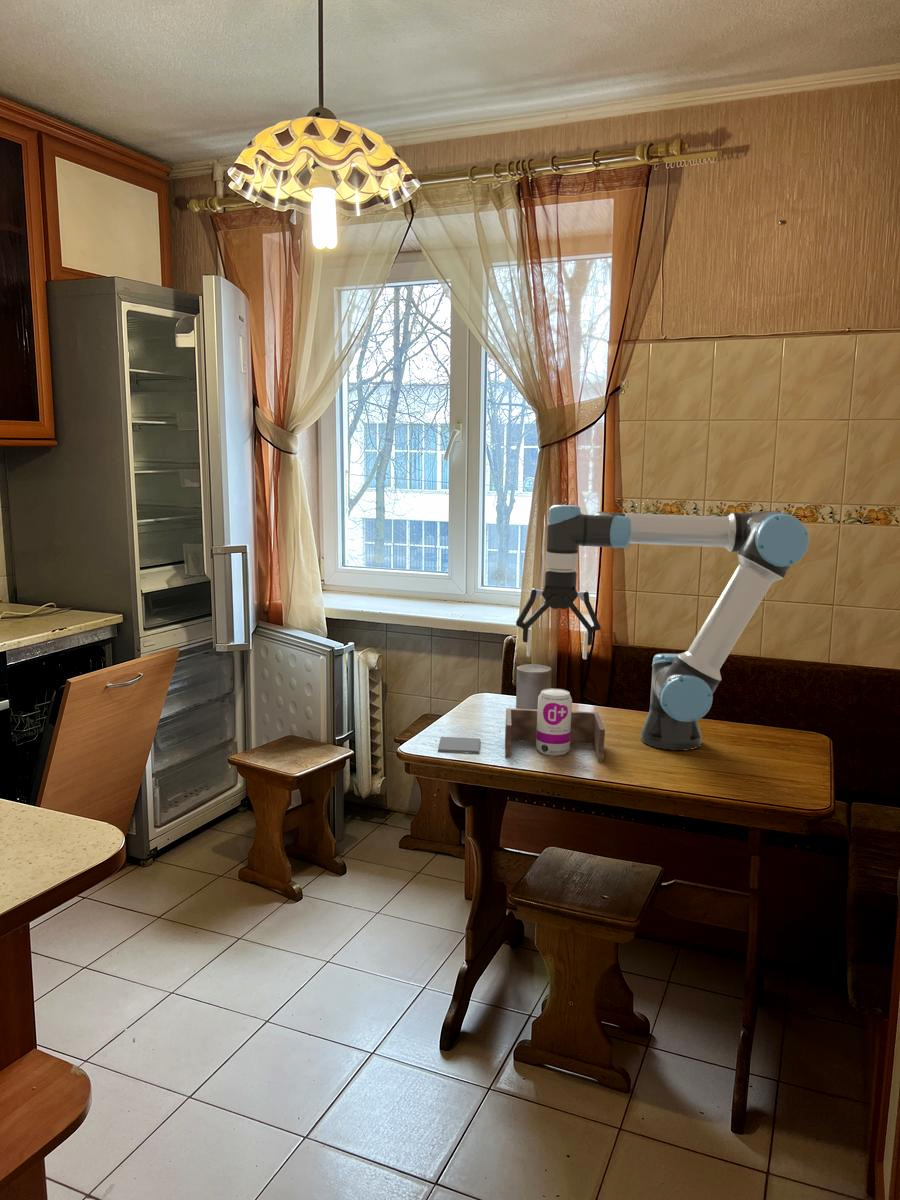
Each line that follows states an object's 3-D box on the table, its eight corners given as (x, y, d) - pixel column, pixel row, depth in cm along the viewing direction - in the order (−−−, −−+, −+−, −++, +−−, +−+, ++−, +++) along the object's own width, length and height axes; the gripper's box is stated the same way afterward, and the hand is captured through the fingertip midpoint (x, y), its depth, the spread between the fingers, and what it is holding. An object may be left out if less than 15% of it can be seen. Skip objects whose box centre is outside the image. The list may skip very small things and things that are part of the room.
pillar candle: (546, 710, 257) (548, 659, 255) (552, 720, 247) (554, 667, 245) (513, 710, 256) (514, 659, 254) (517, 720, 247) (519, 667, 244)
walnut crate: (596, 742, 229) (598, 712, 228) (603, 762, 214) (605, 729, 213) (504, 738, 230) (506, 708, 229) (505, 757, 215) (506, 725, 214)
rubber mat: (480, 740, 227) (480, 738, 227) (479, 753, 218) (479, 751, 217) (440, 738, 228) (440, 736, 228) (438, 751, 218) (438, 749, 218)
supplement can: (568, 757, 216) (572, 697, 214) (534, 755, 218) (537, 695, 215) (569, 747, 224) (572, 689, 222) (536, 744, 226) (539, 686, 223)
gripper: (611, 570, 217) (606, 655, 220) (508, 565, 218) (504, 651, 222) (615, 574, 210) (609, 662, 213) (508, 569, 211) (504, 657, 214)
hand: (556, 657), depth 217 cm, fingers open, 13 cm apart
